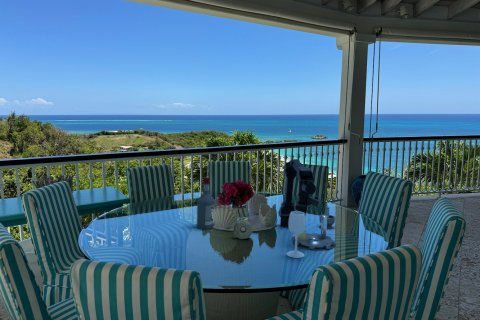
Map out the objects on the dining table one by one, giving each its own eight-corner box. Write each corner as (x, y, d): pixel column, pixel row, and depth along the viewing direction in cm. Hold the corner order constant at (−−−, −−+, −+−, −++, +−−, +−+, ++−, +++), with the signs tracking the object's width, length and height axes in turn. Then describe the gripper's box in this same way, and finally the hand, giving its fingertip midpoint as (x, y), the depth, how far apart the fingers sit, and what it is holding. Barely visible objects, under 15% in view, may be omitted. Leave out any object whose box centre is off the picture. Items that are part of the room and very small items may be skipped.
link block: (296, 239, 200) (296, 231, 200) (296, 237, 204) (296, 230, 203) (305, 240, 199) (305, 232, 199) (305, 238, 203) (306, 231, 202)
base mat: (311, 253, 187) (311, 252, 187) (283, 240, 206) (283, 239, 206) (343, 246, 199) (343, 246, 199) (315, 234, 218) (315, 234, 218)
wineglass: (284, 251, 188) (286, 210, 186) (302, 251, 189) (304, 210, 187) (288, 258, 179) (290, 215, 177) (306, 258, 180) (308, 215, 178)
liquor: (194, 227, 224) (195, 178, 221) (203, 224, 232) (204, 176, 229) (207, 230, 220) (208, 179, 217) (215, 226, 228) (217, 177, 225)
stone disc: (233, 239, 206) (233, 221, 205) (233, 237, 209) (234, 219, 208) (252, 240, 205) (252, 222, 204) (252, 238, 209) (253, 220, 208)
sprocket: (311, 252, 187) (312, 225, 185) (283, 239, 206) (284, 214, 205) (344, 245, 198) (345, 220, 197) (315, 233, 218) (316, 210, 217)
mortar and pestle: (335, 230, 229) (336, 210, 228) (319, 228, 231) (320, 209, 229) (333, 225, 240) (334, 206, 239) (318, 224, 242) (319, 205, 240)
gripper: (317, 195, 189) (316, 225, 190) (321, 190, 207) (320, 218, 208) (295, 193, 193) (294, 223, 193) (300, 189, 210) (300, 217, 211)
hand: (303, 220), depth 201 cm, fingers closed
